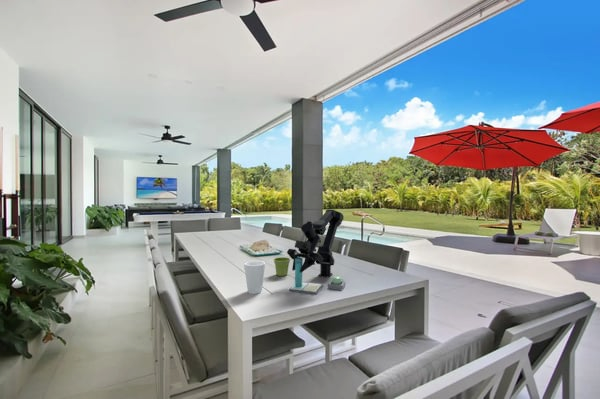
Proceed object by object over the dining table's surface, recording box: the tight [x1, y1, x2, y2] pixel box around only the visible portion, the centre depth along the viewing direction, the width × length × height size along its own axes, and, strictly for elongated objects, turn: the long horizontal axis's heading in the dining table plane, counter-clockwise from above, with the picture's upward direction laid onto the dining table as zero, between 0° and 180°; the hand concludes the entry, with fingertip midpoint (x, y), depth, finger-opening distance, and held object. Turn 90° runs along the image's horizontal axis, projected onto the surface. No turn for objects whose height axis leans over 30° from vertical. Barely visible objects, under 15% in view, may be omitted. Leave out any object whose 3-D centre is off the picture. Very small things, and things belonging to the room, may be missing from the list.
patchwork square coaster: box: [288, 281, 324, 295], centre depth 134 cm, size 13×13×1 cm
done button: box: [331, 276, 342, 285], centre depth 137 cm, size 4×4×3 cm
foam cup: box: [243, 260, 266, 295], centre depth 130 cm, size 10×9×13 cm
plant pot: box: [273, 256, 291, 277], centre depth 157 cm, size 9×9×9 cm
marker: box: [294, 257, 304, 287], centre depth 134 cm, size 4×4×13 cm
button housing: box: [327, 279, 346, 291], centre depth 137 cm, size 7×7×2 cm
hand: (296, 271), depth 133 cm, fingers open, 4 cm apart
